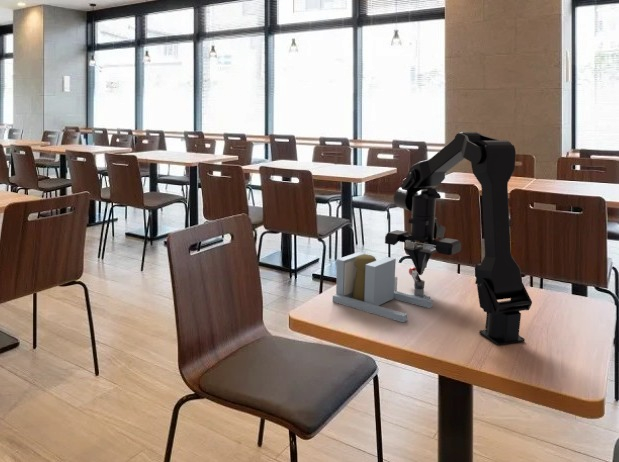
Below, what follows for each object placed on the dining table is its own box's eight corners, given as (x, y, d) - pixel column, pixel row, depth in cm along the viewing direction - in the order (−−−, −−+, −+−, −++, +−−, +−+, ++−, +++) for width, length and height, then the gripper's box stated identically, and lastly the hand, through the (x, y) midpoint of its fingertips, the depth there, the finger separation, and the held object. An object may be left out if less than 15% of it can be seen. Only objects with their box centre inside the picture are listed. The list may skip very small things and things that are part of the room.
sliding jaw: (393, 298, 130) (395, 258, 128) (373, 308, 123) (374, 266, 121) (384, 295, 132) (386, 256, 130) (363, 305, 125) (364, 264, 123)
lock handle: (424, 290, 129) (425, 281, 129) (414, 290, 129) (415, 281, 129) (416, 274, 141) (417, 266, 141) (407, 274, 142) (408, 266, 141)
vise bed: (441, 301, 129) (443, 261, 127) (403, 322, 116) (405, 278, 114) (371, 283, 142) (373, 247, 140) (331, 300, 129) (331, 260, 126)
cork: (376, 295, 133) (378, 252, 130) (377, 304, 127) (378, 259, 125) (352, 294, 133) (353, 251, 131) (351, 302, 128) (352, 258, 125)
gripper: (472, 214, 134) (468, 274, 137) (407, 206, 145) (404, 261, 149) (452, 221, 125) (448, 285, 129) (384, 211, 137) (382, 270, 140)
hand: (420, 274), depth 137 cm, fingers closed
